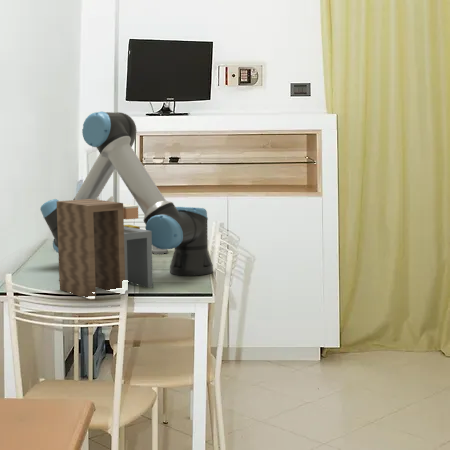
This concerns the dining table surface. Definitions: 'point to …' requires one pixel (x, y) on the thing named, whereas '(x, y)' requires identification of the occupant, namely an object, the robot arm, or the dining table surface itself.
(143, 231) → the grey bench
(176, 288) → the dining table surface
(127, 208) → the slim box
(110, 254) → the walnut stand
